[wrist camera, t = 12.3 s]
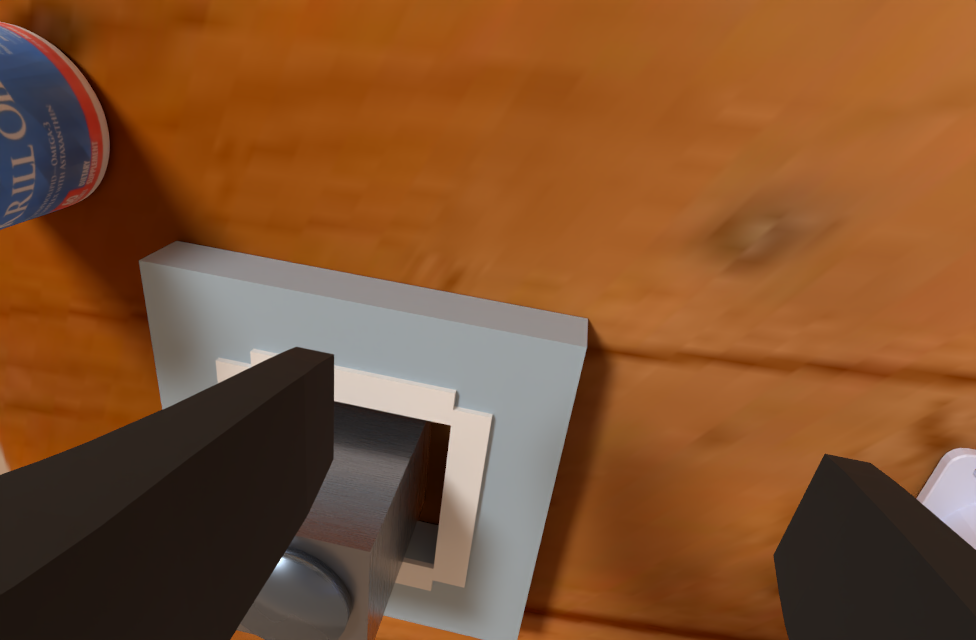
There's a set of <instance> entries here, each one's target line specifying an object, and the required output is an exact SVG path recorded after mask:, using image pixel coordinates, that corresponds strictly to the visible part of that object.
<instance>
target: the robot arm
mask: <svg viewBox="0 0 976 640" xmlns="http://www.w3.org/2000/svg"><path fill="white" fill-rule="evenodd" d="M333 459H334V354H330V353H325V352H320V351H315V350H310V349H306V348H301V347H294V348H292V349H289V350H287V351H284V352H282V353H280V354H278V355H275V356H273V357H271V358H269V359H267V360H265V361H263V362H261V363H259V364H257V365H255V366H252V367H250V368H248V369H246V370H244V371H242V372H240V373H238V374H236V375H234V376H232V377H230V378H228V379H226V380H224V381H222V382H220V383H218V384H216V385H213V386H211V387H209V388H207V389H205V390H203V391H201V392H199V393H197V394H195V395H193V396H191V397H188V398H186V399H184V400H182V401H180V402H178V403H176V404H174V405H172V406H170V407H167V408H165V409H163V410H161V411H158V412H156V413H154V414H151V415H149V416H147V417H144V418H142V419H140V420H138V421H135V422H133V423H131V424H128V425H126V426H124V427H121V428H119V429H117V430H115V431H112V432H110V433H108V434H105V435H103V436H101V437H98V438H96V439H94V440H92V441H89V442H87V443H84V444H82V445H79V446H77V447H74V448H72V449H69V450H67V451H64V452H62V453H59V454H56V455H54V456H51V457H49V458H46V459H43V460H41V461H38V462H35V463H33V464H30V465H27V466H24V467H21V468H18V469H16V470H13V471H10V472H7V473H4V474H2V475H0V640H230V639H231V637H232V636H233V634H234V633H235V631H236V630H237V628H238V626H239V625H240V623H241V622H242V620H243V618H244V617H245V615H246V614H247V612H248V610H249V609H250V607H251V606H252V604H253V603H254V601H255V599H256V598H257V596H258V595H259V593H260V591H261V590H262V588H263V587H264V585H265V583H266V582H267V580H268V579H269V577H270V576H271V574H272V572H273V571H274V569H275V568H276V566H277V564H278V563H279V561H280V560H281V558H282V556H283V555H284V553H285V552H286V550H287V548H288V547H289V545H290V543H291V542H292V540H293V539H294V537H295V535H296V534H297V532H298V531H299V529H300V527H301V526H302V524H303V522H304V521H305V519H306V517H307V515H308V513H309V511H310V509H311V507H312V505H313V503H314V501H315V499H316V497H317V495H318V492H319V490H320V488H321V486H322V484H323V481H324V479H325V477H326V475H327V473H328V470H329V468H330V466H331V464H332V461H333ZM975 469H976V450H974V449H969V448H958V449H953V450H951V451H949V452H948V453H946V454H945V455H944V456H943V457H942V459H941V460H940V462H939V463H938V465H937V467H936V468H935V470H934V471H933V473H932V475H931V476H930V478H929V479H928V481H927V483H926V484H925V486H924V487H923V489H922V491H921V492H920V494H919V495H918V497H917V498H914V497H913V496H912V495H911V494H910V493H908V492H907V491H906V490H905V489H904V488H902V487H901V486H900V485H899V484H897V483H896V482H895V481H894V480H892V479H891V478H890V477H888V476H887V475H886V474H885V473H883V472H882V471H881V470H879V469H878V468H876V467H875V466H874V465H872V464H871V463H868V462H863V461H858V460H853V459H848V458H843V457H838V456H833V455H828V454H825V455H824V457H823V458H822V460H821V462H820V464H819V466H818V468H817V470H816V472H815V474H814V476H813V478H812V480H811V482H810V484H809V486H808V488H807V490H806V492H805V494H804V496H803V498H802V500H801V502H800V504H799V506H798V508H797V510H796V512H795V514H794V516H793V518H792V520H791V522H790V524H789V526H788V528H787V530H786V532H785V534H784V536H783V537H782V539H781V541H780V543H779V545H778V547H777V549H776V551H775V553H774V562H775V569H776V575H777V582H778V589H779V595H780V601H781V606H782V611H783V617H784V622H785V627H786V630H787V634H788V637H789V640H976V470H975Z"/></svg>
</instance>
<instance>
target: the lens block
mask: <svg viewBox="0 0 976 640" xmlns="http://www.w3.org/2000/svg"><path fill="white" fill-rule="evenodd" d="M431 425H432V421H427V420H422V419H417V418H413V417H408V416H403V415H398V414H394V413H389V412H384V411H379V410H375V409H370V408H365V407H360V406H356V405H351V404H346V403H341V402H336V401H334V459H333V461H332V464H331V466H330V468H329V470H328V473H327V475H326V477H325V479H324V481H323V484H322V486H321V488H320V490H319V492H318V495H317V497H316V499H315V501H314V503H313V505H312V507H311V509H310V511H309V513H308V515H307V517H306V519H305V521H304V522H303V524H302V526H301V527H300V529H299V531H298V532H297V534H296V535H295V537H294V539H293V540H292V542H291V543H290V545H289V547H288V548H287V550H286V552H285V553H284V555H283V556H282V558H281V560H280V561H279V563H278V564H277V566H276V568H275V569H274V571H273V572H272V574H271V576H270V577H269V579H268V580H267V582H266V583H265V585H264V587H263V588H262V590H261V591H260V593H259V595H258V596H257V598H256V599H255V601H254V603H253V604H252V606H251V607H250V609H249V610H248V612H247V614H246V615H245V617H244V618H243V620H242V622H241V623H240V625H239V626H238V628H237V630H239V631H243V632H247V633H251V634H255V635H257V636H259V637H261V638H263V639H265V640H374V639H375V637H376V634H377V631H378V628H379V625H380V623H381V620H382V617H383V614H384V612H385V609H386V606H387V603H388V601H389V598H390V595H391V592H392V590H393V587H394V584H395V581H396V579H397V576H398V573H399V570H400V567H401V565H402V562H403V559H404V556H405V554H406V551H407V548H408V545H409V543H410V540H411V537H412V534H413V532H414V529H415V526H416V523H417V521H418V518H419V515H420V512H421V510H422V507H423V504H424V501H425V493H426V482H427V470H428V459H429V448H430V436H431Z"/></svg>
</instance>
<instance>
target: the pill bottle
mask: <svg viewBox="0 0 976 640" xmlns="http://www.w3.org/2000/svg"><path fill="white" fill-rule="evenodd" d="M109 153H110V139H109V131H108V126H107V122H106V118H105V114H104V112H103V109H102V106H101V104H100V102H99V100H98V98H97V96H96V94H95V92H94V91H93V89H92V87H91V86H90V84H89V83H88V81H87V80H86V78H85V77H84V76H83V74H82V73H81V72H80V71H79V69H78V68H77V67H76V66H75V65H74V64H73V62H72V61H71V60H70V59H69V58H68V57H67V56H66V55H64V54H63V53H62V52H61V51H60V50H59V49H58V48H56V47H55V46H54V45H52V44H51V43H50V42H48V41H47V40H45V39H43V38H42V37H40V36H38V35H36V34H34V33H33V32H31V31H29V30H26V29H24V28H21V27H18V26H15V25H12V24H8V23H3V22H0V229H3V228H6V227H9V226H12V225H15V224H18V223H21V222H24V221H27V220H30V219H33V218H36V217H39V216H42V215H45V214H48V213H51V212H55V211H58V210H61V209H63V208H66V207H69V206H71V205H73V204H76V203H78V202H80V201H82V200H83V199H85V198H87V197H88V196H89V195H90V194H92V193H93V192H94V191H95V189H96V188H97V187H98V186H99V184H100V182H101V181H102V179H103V177H104V174H105V171H106V169H107V165H108V160H109Z"/></svg>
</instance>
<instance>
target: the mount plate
mask: <svg viewBox="0 0 976 640" xmlns="http://www.w3.org/2000/svg"><path fill="white" fill-rule="evenodd" d="M139 265H140V272H141V278H142V284H143V290H144V297H145V303H146V309H147V315H148V322H149V328H150V334H151V340H152V347H153V353H154V359H155V365H156V372H157V378H158V384H159V390H160V397H161V403H162V409H165V408H167V407H170V406H172V405H174V404H176V403H178V402H180V401H182V400H184V399H186V398H188V397H191V396H193V395H195V394H197V393H199V392H201V391H203V390H205V389H207V388H209V387H211V386H213V385H216V384H218V383H220V382H222V381H224V380H226V379H228V378H230V377H232V376H234V375H236V374H238V373H240V372H242V371H244V370H246V369H248V368H250V367H252V366H255V365H257V364H259V363H261V362H263V361H265V360H267V359H269V358H271V357H273V356H275V355H278V354H280V353H282V352H284V351H287V350H289V349H292V348H294V347H301V348H306V349H310V350H315V351H320V352H325V353H330V354H334V401H336V402H341V403H346V404H351V405H356V406H360V407H365V408H370V409H375V410H379V411H384V412H389V413H394V414H398V415H403V416H408V417H413V418H417V419H422V420H427V421H432V422H436V423H441V424H446V425H451V430H450V438H449V446H448V455H447V463H446V471H445V479H444V487H443V495H442V504H441V512H440V520H439V525H434V524H430V523H425V522H421V521H417V523H416V526H415V529H414V532H413V534H412V537H411V540H410V543H409V545H408V548H407V551H406V554H405V556H404V559H403V562H402V565H401V567H400V570H399V573H398V576H397V579H396V581H395V584H394V587H393V590H392V592H391V595H390V598H389V601H388V603H387V606H386V609H385V612H384V614H383V615H384V616H388V617H392V618H397V619H401V620H405V621H409V622H413V623H417V624H421V625H426V626H430V627H434V628H438V629H442V630H446V631H450V632H454V633H459V634H463V635H467V636H471V637H475V638H479V639H483V640H517V639H518V634H519V630H520V626H521V622H522V618H523V613H524V609H525V605H526V601H527V597H528V592H529V588H530V584H531V580H532V576H533V571H534V567H535V563H536V559H537V555H538V551H539V546H540V542H541V538H542V534H543V530H544V525H545V521H546V517H547V513H548V509H549V504H550V500H551V496H552V492H553V488H554V483H555V479H556V475H557V471H558V467H559V462H560V458H561V454H562V450H563V446H564V442H565V437H566V433H567V429H568V425H569V421H570V416H571V412H572V408H573V404H574V400H575V395H576V391H577V387H578V383H579V379H580V374H581V370H582V366H583V362H584V358H585V353H586V349H587V334H588V319H587V318H581V317H576V316H571V315H566V314H560V313H555V312H550V311H545V310H539V309H534V308H529V307H523V306H518V305H513V304H508V303H502V302H497V301H492V300H486V299H481V298H476V297H471V296H465V295H460V294H455V293H450V292H444V291H439V290H434V289H428V288H423V287H418V286H413V285H407V284H402V283H397V282H392V281H386V280H381V279H376V278H370V277H365V276H360V275H355V274H349V273H344V272H339V271H334V270H328V269H323V268H318V267H312V266H307V265H302V264H297V263H291V262H286V261H281V260H275V259H270V258H265V257H260V256H254V255H249V254H244V253H239V252H233V251H228V250H223V249H217V248H212V247H207V246H202V245H196V244H191V243H186V242H181V241H175V242H173V243H171V244H169V245H167V246H165V247H164V248H162V249H160V250H158V251H156V252H154V253H152V254H150V255H148V256H146V257H144V258H142V259H140V260H139Z"/></svg>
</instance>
